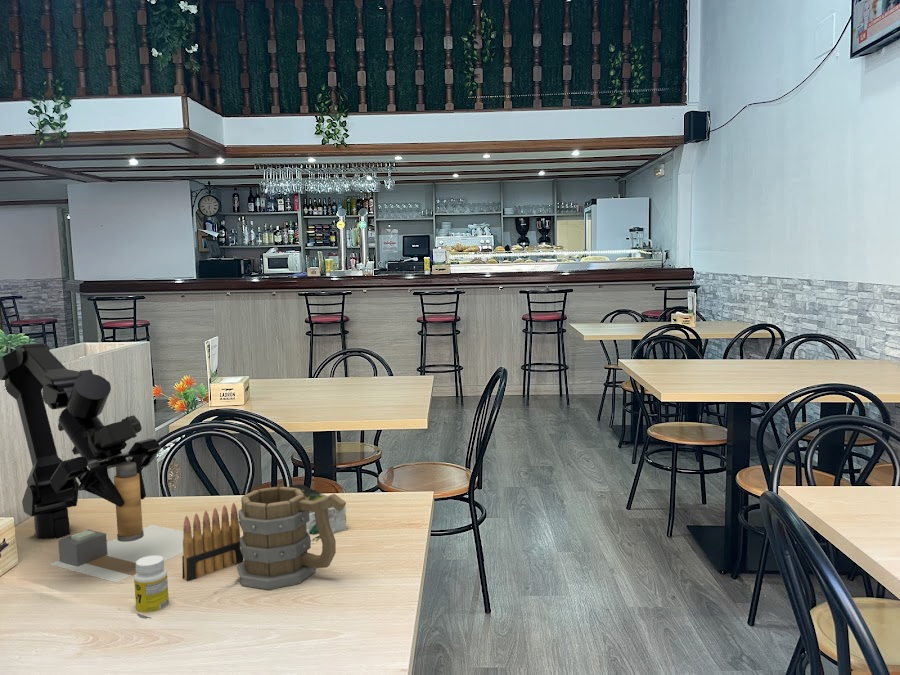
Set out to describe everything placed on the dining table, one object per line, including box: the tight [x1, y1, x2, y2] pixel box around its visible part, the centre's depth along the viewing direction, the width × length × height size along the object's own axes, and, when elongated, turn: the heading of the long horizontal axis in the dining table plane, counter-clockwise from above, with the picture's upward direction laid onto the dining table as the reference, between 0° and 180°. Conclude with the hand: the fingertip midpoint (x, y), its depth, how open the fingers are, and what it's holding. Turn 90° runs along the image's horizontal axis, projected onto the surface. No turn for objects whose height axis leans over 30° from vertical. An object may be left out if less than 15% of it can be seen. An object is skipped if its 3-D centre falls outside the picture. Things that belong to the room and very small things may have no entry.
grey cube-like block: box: [57, 529, 108, 567], centre depth 131 cm, size 5×6×5 cm
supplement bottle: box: [133, 555, 170, 620], centre depth 112 cm, size 5×5×8 cm
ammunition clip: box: [181, 502, 244, 582], centre depth 124 cm, size 11×2×12 cm, turn 137°
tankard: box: [236, 486, 347, 591], centre depth 124 cm, size 20×13×15 cm, turn 69°
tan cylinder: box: [113, 462, 144, 542], centre depth 125 cm, size 4×4×13 cm
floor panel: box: [49, 524, 193, 583], centre depth 134 cm, size 18×22×1 cm
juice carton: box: [289, 483, 348, 539], centre depth 150 cm, size 20×10×6 cm, turn 40°
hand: (133, 501), depth 124 cm, fingers closed on tan cylinder, 4 cm apart
